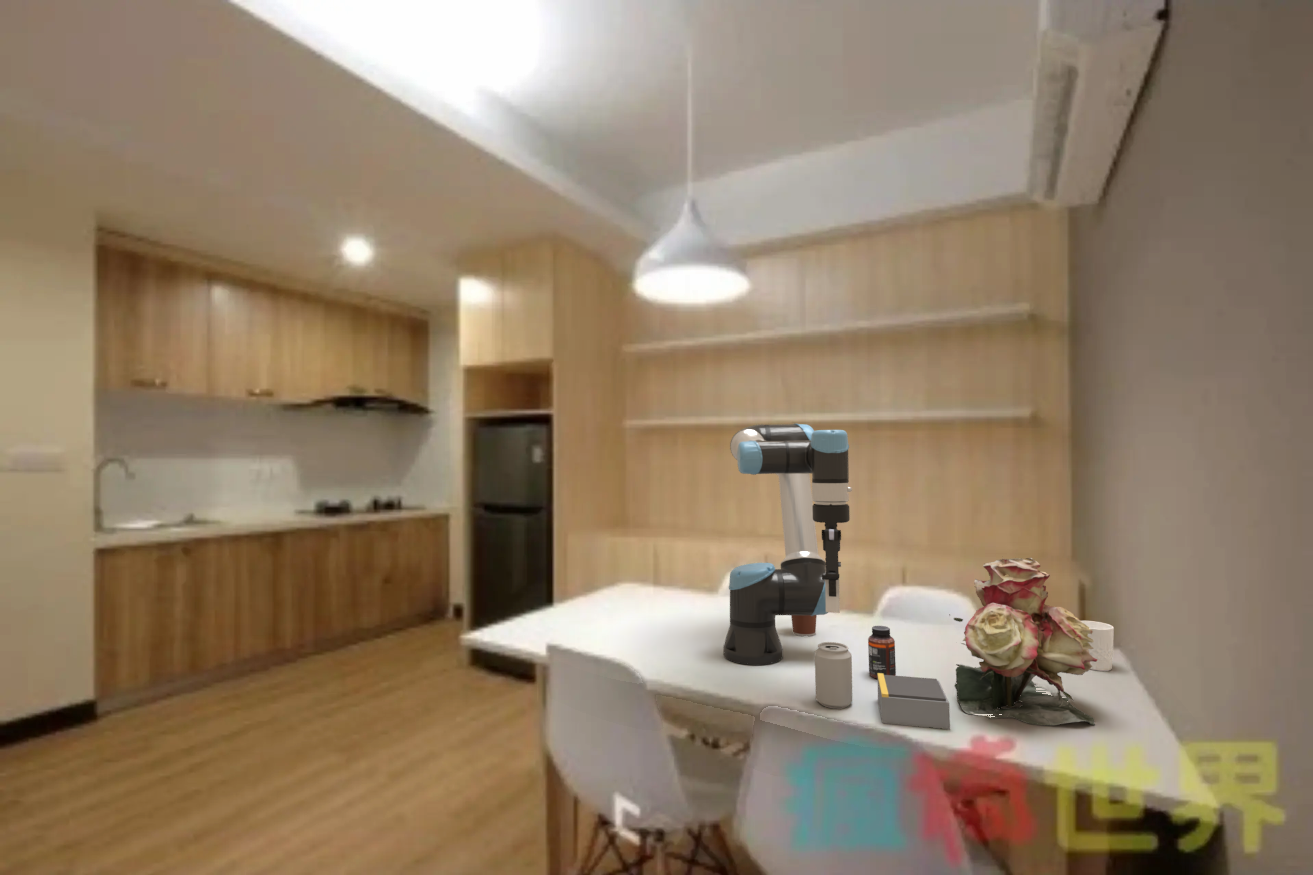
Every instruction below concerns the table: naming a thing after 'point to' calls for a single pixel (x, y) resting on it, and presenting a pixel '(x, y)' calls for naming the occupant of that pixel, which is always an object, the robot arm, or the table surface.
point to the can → (833, 675)
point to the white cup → (1101, 645)
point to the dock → (912, 701)
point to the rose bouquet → (1021, 648)
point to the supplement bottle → (881, 652)
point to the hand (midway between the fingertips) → (832, 604)
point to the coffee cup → (804, 625)
